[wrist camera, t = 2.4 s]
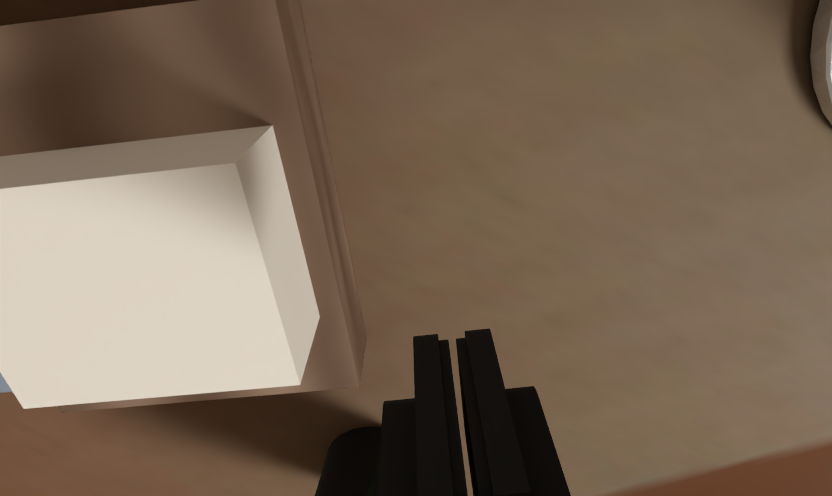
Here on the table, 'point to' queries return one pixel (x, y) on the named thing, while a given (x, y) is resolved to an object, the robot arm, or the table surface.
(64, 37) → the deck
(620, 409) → the table surface
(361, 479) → the cup
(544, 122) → the table surface
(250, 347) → the cream rectangular block
